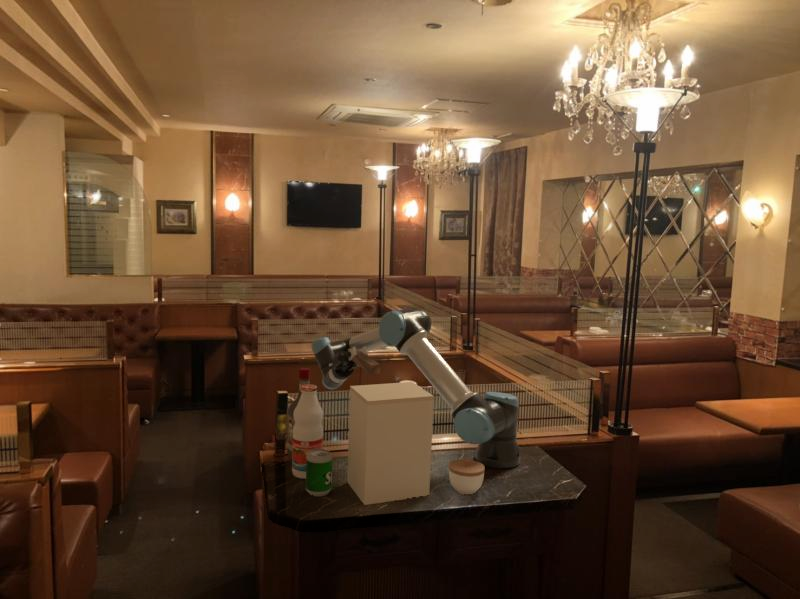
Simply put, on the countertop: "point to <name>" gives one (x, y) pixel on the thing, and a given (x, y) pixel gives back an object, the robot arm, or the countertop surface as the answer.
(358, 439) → the pedestal
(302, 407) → the fruit juice
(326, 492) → the soda can
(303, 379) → the liquor
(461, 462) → the lidded jar
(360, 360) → the dark brown wooden post
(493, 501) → the countertop surface
